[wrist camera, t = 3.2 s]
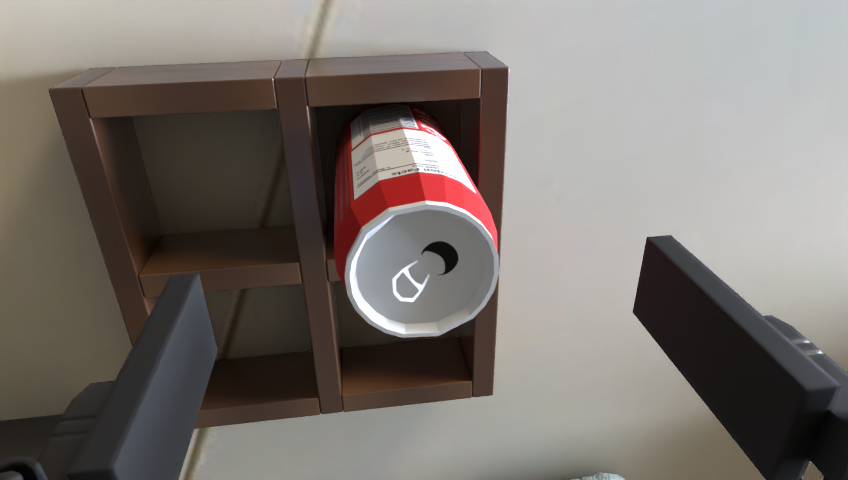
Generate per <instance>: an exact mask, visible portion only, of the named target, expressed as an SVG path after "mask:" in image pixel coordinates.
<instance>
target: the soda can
mask: <svg viewBox="0 0 848 480" xmlns="http://www.w3.org/2000/svg"><path fill="white" fill-rule="evenodd" d="M334 259H335V265H336V270H337V274H338V276H339V277H340V279H341V281H342V283H343V285H344V287H345V289H346V291H347V294H348V297H349V299H350V301H351V303H352V305H353V307H354V309H355V310H356V312H357V313H358V314H359V315H360V316H361V317H362V318H363V319H364V320H365V321H366V322H367V323H369V324H370V325H372V326H374V327H376V328H377V329H379V330H381V331H383V332H384V333H388V334H391V335H395V336H398V337H402V338H406V337H429V336H440V335H442V334H444V333H445V332H447V331H449V330H451V329H453V328H455V327H457V326H459V325H461V324H463V323H465V322H467V321H469V320H471V319H473V318H474V317H475V316H476V315H477V314H478V313H479V312H480V311H481V310H482V309H483V308H484V307H485V305H486V304H487V302H488V300H489V299H490V297H491V295H492V294H493V292H494V290H495V287H496V283H497V279H498V275H499V256H498V253H497V231H496V228H495V225H494V222H493V219H492V216H491V213H490V211H489V209H488V207H487V206H486V204H485V202H484V200H483V199H482V197H481V195H480V193H479V192H478V190H477V188H476V186H475V185H474V183H473V181H472V179H471V178H470V176H469V174H468V172H467V171H466V169H465V167H464V165H463V164H462V162H461V160H460V158H459V157H458V155H457V153H456V151H455V150H454V148H453V146H452V145H451V143H450V141H449V139H448V138H447V136H446V134H445V132H444V131H443V129H442V127H441V126H440V125H439V123H438V122H437V120H436V119H435V118H434V117H433V116H432V115H430V114H429V113H428V112H427V111H425V110H424V109H423V108H421V107H419V106H416V105H414V104H412V103H408V102H397V103H379V104H374V105H370V106H366V107H365V108H363V109H362V110H361V111H360V112H359V113H357V114H356V115H355V116H354V117H353V118H351V119H350V120H349V121H348V122H347V123H346V125H345V127H344V129H343V131H342V133H341V135H340V137H339V139H338V141H337V147H336V155H335V212H334Z"/></svg>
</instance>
